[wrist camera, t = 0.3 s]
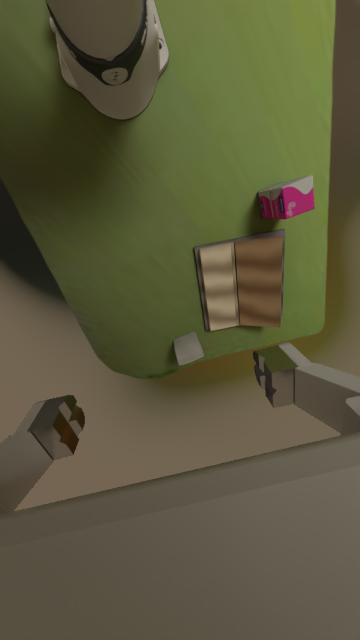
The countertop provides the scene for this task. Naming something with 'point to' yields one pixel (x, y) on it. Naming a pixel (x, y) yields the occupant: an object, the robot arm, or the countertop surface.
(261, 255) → the walnut plank
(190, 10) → the countertop surface
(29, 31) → the countertop surface
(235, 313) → the floor board
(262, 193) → the supplement box
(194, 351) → the white food carton
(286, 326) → the countertop surface
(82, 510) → the robot arm
